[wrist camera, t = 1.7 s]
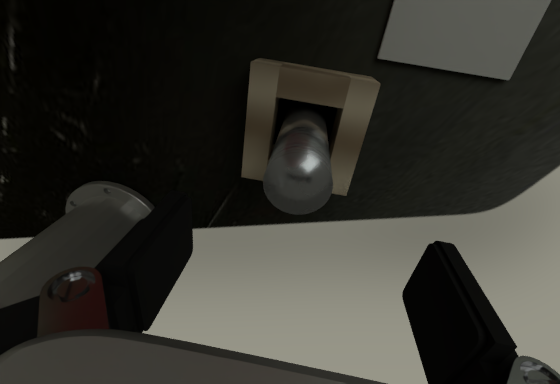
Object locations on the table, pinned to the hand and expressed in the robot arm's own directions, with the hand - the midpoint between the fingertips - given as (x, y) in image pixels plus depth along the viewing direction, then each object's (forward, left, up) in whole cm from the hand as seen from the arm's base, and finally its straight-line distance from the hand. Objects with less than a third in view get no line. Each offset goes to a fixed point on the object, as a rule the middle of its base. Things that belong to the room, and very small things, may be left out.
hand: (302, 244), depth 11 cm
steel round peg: (0, 0, -19) cm, 18 cm away
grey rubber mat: (+12, -10, -18) cm, 24 cm away
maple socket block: (0, 0, -18) cm, 18 cm away
